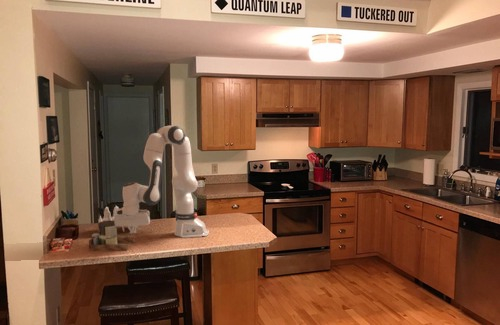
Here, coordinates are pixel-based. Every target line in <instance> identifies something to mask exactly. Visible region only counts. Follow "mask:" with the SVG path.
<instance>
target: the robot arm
mask: <svg viewBox="0 0 500 325" xmlns="http://www.w3.org/2000/svg"><path fill="white" fill-rule="evenodd" d="M166 145H172V148H173V160H174V168H175V170H176V174H174V176H173V177H172V179H171V184H172V186H173V193H174V196H175V207H176V212H175V222H176V223H175V230H174V236H176V237H180V238H182V239H186V238H201V237H202V236H205V237H208V236H209V235H208V234H210V230H209V229H208V228H207V226H206V224H205V222H204V221H202V220H201V219H199V218H198V214H197V212H195V210H194V199H193V196H192V193H194V192H195V191H197V189H198V186H199V182H198V180H197V179H196V176H195V170H194V167H193V159H192V147H191V142H190V139H189V137H188V136H186V134H185V131H184V129H183V128H181V126H179V125H166V126H165V125H164V126H160V127H159V128H158V129H157V130H156V131H155V132H154V133H151V134H150V135H149V136H148V139H147V140H146V143H145V147H144V152H143V162H144V164H146V165H147V167H148V168H149V171H150V176H149V185H144V184H143V185H142V184H140V183H138V182H136V181H129V182H126V183H124V184H123V186H122V200H123V205H122V206H123V207H121V208H118V210H116V212H115V214H116V215H115V218H114V224H115V226H117V227H122V226H124V227H127V228H128V230H129V232H130V234H136V232H137V229H138V227H139V226H149V225H150V223H151V218H150V214H151V212H150V211H149V210H148V209H140V203H144V204H146V205H149V206H155V205H157V204H158V203H159V202H160V200H161V197H162V194H161V182H162V172H163V157H164V156H163V155H164V154H163V153H164V150H165V146H166ZM132 226H133V228H134V229H133V230H132ZM202 238H203V237H202Z"/></svg>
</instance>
